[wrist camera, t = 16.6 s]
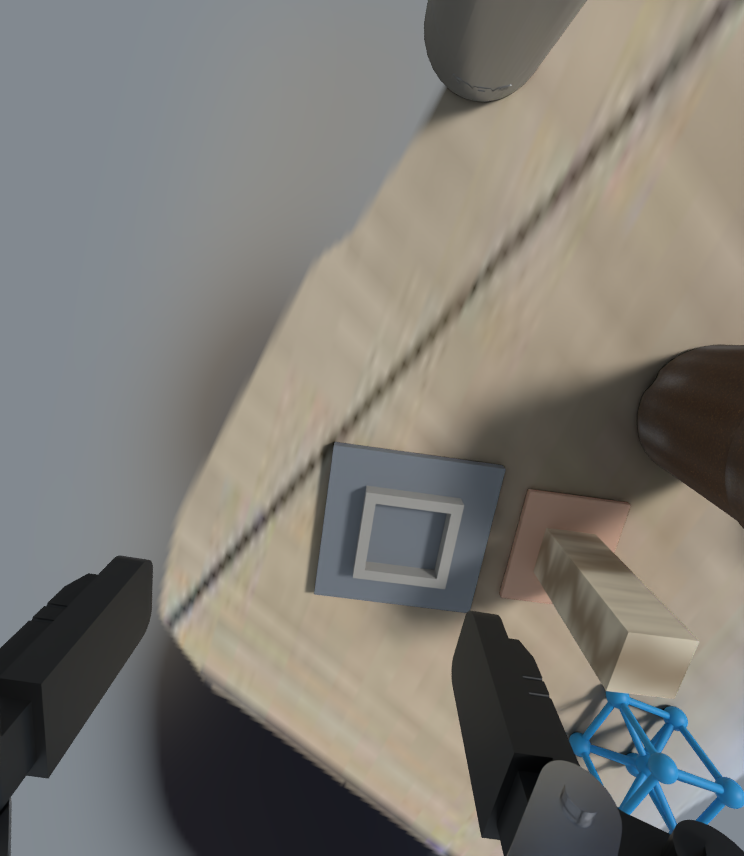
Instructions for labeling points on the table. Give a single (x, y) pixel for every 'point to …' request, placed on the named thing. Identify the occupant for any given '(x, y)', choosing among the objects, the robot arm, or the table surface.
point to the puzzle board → (406, 527)
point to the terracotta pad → (556, 514)
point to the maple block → (614, 616)
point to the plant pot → (700, 423)
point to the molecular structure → (655, 760)
